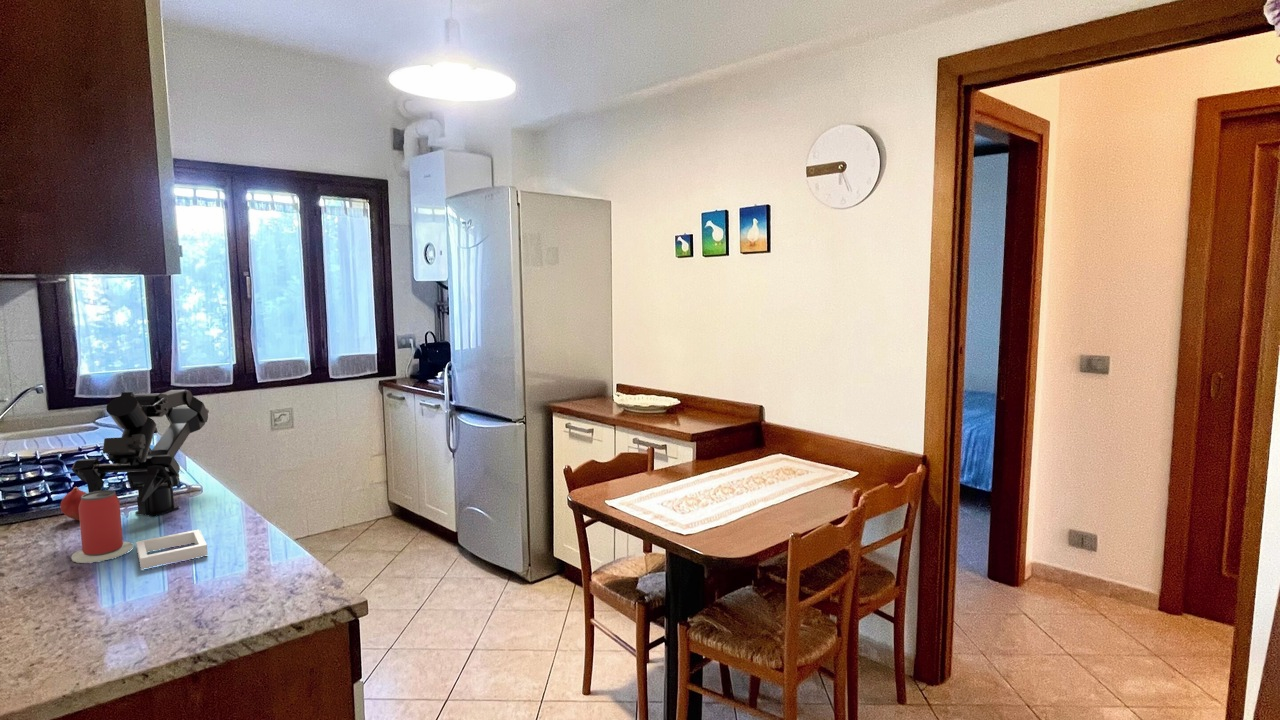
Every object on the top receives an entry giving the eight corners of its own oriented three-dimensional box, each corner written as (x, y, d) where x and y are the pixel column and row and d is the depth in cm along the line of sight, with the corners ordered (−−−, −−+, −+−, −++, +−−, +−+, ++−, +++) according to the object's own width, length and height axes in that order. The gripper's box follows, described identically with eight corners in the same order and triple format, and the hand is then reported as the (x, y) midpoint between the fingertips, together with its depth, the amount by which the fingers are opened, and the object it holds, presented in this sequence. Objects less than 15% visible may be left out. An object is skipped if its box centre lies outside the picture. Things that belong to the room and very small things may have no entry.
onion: (56, 522, 156) (52, 488, 155) (84, 514, 162) (81, 482, 161) (71, 525, 154) (68, 492, 153) (99, 517, 160) (96, 485, 159)
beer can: (124, 551, 139) (119, 494, 137) (83, 559, 134) (77, 501, 133) (122, 541, 144) (117, 487, 142) (82, 549, 139) (76, 493, 138)
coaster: (111, 541, 145) (110, 539, 145) (145, 547, 142) (144, 544, 142) (59, 559, 136) (59, 557, 136) (94, 566, 133) (94, 563, 133)
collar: (137, 553, 139) (136, 541, 139) (200, 540, 146) (199, 529, 146) (141, 570, 131) (140, 558, 130) (207, 556, 138) (206, 544, 138)
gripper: (71, 423, 146) (47, 488, 136) (170, 419, 150) (153, 482, 141) (94, 449, 154) (72, 512, 145) (186, 445, 159) (171, 505, 150)
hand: (117, 502), depth 145 cm, fingers open, 9 cm apart
